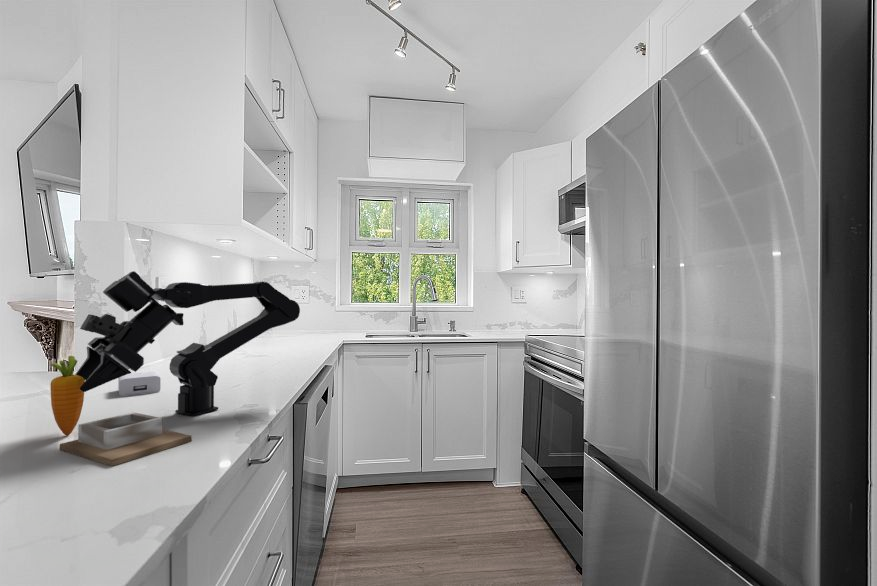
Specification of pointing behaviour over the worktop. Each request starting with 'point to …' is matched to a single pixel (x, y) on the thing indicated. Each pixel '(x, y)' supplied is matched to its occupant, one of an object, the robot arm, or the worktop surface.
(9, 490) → the worktop surface
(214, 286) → the robot arm
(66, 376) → the carrot
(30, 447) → the worktop surface
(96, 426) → the holder
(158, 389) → the charger
